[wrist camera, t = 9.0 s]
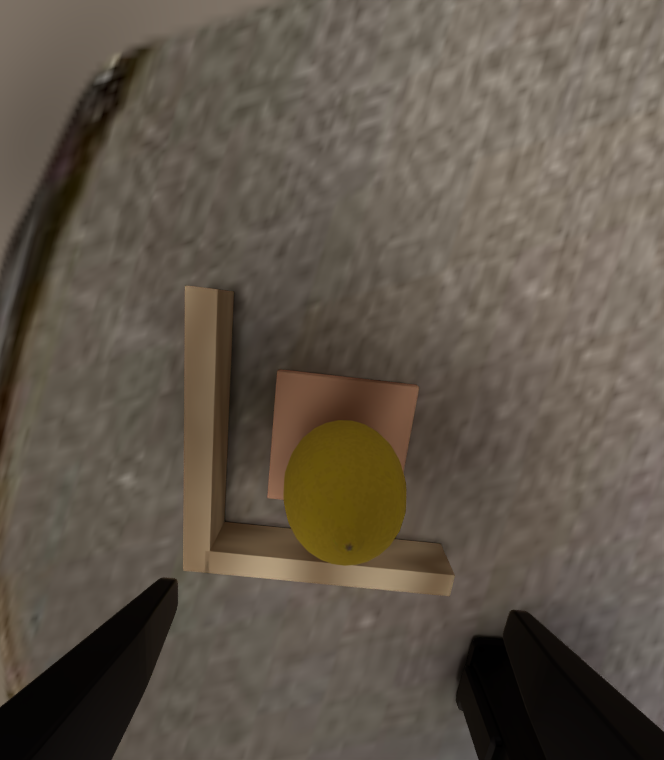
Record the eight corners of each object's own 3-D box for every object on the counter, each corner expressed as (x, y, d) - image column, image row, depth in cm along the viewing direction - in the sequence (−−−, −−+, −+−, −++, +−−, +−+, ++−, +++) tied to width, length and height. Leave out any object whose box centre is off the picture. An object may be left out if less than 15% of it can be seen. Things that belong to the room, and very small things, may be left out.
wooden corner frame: (491, 322, 17) (517, 325, 15) (436, 562, 21) (449, 596, 19) (206, 288, 17) (185, 285, 15) (200, 539, 21) (183, 570, 18)
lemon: (378, 493, 19) (410, 622, 11) (288, 480, 19) (258, 602, 11) (397, 408, 18) (447, 488, 10) (301, 393, 18) (277, 462, 10)
